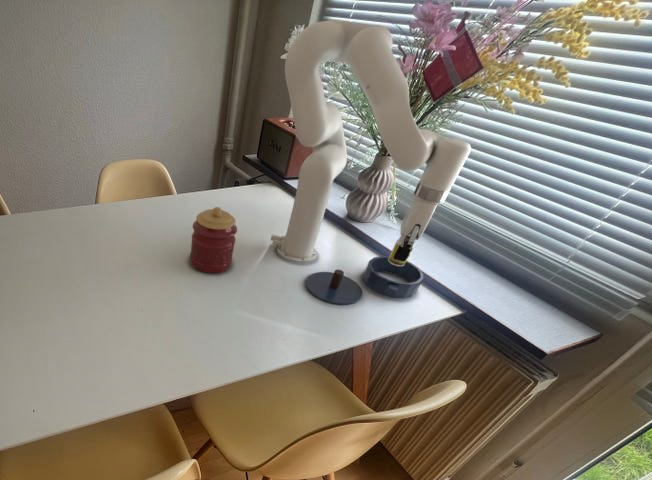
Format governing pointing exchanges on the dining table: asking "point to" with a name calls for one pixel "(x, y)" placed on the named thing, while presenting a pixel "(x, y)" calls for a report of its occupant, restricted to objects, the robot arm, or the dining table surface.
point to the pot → (389, 286)
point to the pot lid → (334, 288)
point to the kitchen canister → (213, 241)
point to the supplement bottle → (391, 257)
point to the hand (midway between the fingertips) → (399, 254)
